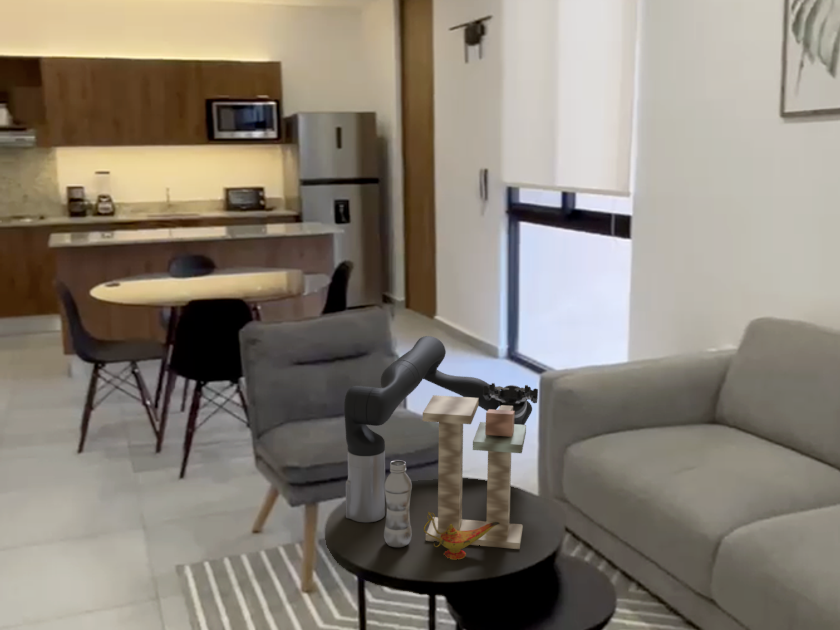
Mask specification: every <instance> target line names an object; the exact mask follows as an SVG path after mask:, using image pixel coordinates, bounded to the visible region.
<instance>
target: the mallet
mask: <svg viewBox="0 0 840 630" xmlns="http://www.w3.org/2000/svg"><path fill="white" fill-rule="evenodd" d="M514 415H515V411H513V406H505V405H501V406H499V407H498V408H497V409H496V410H492V409H489V410H488V411H486V412H485V422H486V428H485V435H496V436H511V437H512V435H513V433H514Z"/></svg>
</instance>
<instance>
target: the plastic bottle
mask: <svg viewBox="0 0 840 630" xmlns="http://www.w3.org/2000/svg"><path fill="white" fill-rule="evenodd" d="M406 471H407V463H406V461H404V460H400V459H394V460H392V461H390V463H389V472H390V473H389V474H388V476H387V477H386V478H385V484H384V489H385V507H386V514H385V525H384V530H383V537H384V542H386V544H387V545H388V546H389V547H391V548H403V547H405V546H407V545H409V543H410V542H411V541H412V536H413V533H412V532H413V531H412V526H411V519H410V518H411V517H410V505H411V504H410V503H411V494H412V488H413V484H412V480H411V478H410V477H409V475H408V474H407V473H406Z"/></svg>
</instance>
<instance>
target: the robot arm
mask: <svg viewBox="0 0 840 630" xmlns="http://www.w3.org/2000/svg"><path fill="white" fill-rule="evenodd" d="M446 353H447V351H446V347H445V345H444V343H443V342H442V341H441V340H440V339H438V338H437V337H435V336H431V335H425V336H421V337H420V338H418V340H417V341H416V342H415V343H414V345H413V347H412V348H411V349H410V350H408V351H407V352H405V353H404V354H403V355H401V356H400V357H398V359H396V360H395V361H393V362H392V363H390V365H388V366H387V367H386V368H385V369H384V370H383V372H382V374H381V376H380V386H381V387H373V386H364V385H363V386H362V385H353V386H351V387H349V388H348V389H347V392H346V393H345V396H344V397H345V398H344V403H343V404H344V405H343V406H344V408H343V410H344V411H343V412H344V425H345V441H346V444H347V480H346V481H345V518H346V519H350V520H352V521H355V522H358V523H373V522H374V523H375V522H377V521H380V520H382V519H383V518H384V517H386V495H385V489H384V484H385V481H386V440H385V438H384V437H383V436H381V434H379V433H377V432H375V431H373V430H372V429H371V428H369V426H375V427H376V426H377V427H378V426H379V427H380V426H383V425H384V424H385V423H386V422H388V421H389V420H390V418H391V417H392V415H393V414H394V413H395V411H396V410H397V408H398V406H400V404H402V402H403V401H404V400H405V399H406V398H407V397H408V396H409V395H411V393H413V392H414V391H415V389H416V388H417V387H418V386H419V385H420V384H421V383H422V381H423V380H425V381H427V382H429V383H431V384H434V385H435V386H438V387H441V388H443V389H445V390H447V391H449V392H451V393H455V394H457V395H459V396H460V397H471V398H479V399H478V407H480V408H481V409H483V410H484V411H486V412H487V411H488V410H489V409H492V410H498V409H499V408H500V406H501V405H505V406H513V411H515V415H514V424H519V425H526V423H527V421H528V419H529V417H530V415H531V414H532V412H533V405H532V404H531V403H530V402H532V403H533V404H537V403H538V396H539V389H538V388H533V389H532V388H531V387H530V386H529V385H528V384H525V385H524V387H520V386H517V385H514V384H510V385H509V384H508V385H506V386H504V387H503V386H500V385H498V386H496V384H495V382H492V383H491V384H489V383H488V382H486V381H485V380H482V379H480V378H477V377H473V376H460V375H451V374H447V373H444V372H442V371H440V370H438V368H439V366H440V364H442V363H443V361H444V359H445V358H446V357H445V356H446ZM529 400H530V401H529Z"/></svg>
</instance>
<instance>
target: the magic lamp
mask: <svg viewBox="0 0 840 630" xmlns="http://www.w3.org/2000/svg"><path fill="white" fill-rule="evenodd" d="M427 513H428V514H427V520H428V521H427V522H426V523H425V525H424V526H423V532H424V533H425V535H426V534H428V535H430V536H432V537H434V538H436V539H438V540H439V541H440V542H438V543H439V544H438V545H435V542H434V543H433V546H434V547H435V548H438V547H439V546H441V545H442V546H443V547H444V548H446V550H447V551H446V550H445V551H444V552H445V553H444V552H443V556H444V555H445V556H446V557H447V558H446V557H445V556H444V557H445V558H446V559H448V558H450V559H449V560H454V561H456V560H457V559H458V560H461V559H464V558H465V557H466V556H467V553H466V551H464V550H463V549H465V548H466V547H468V546H471V545H470V544H471V543H473V542H475V541H476V540H478V539H479V538H481V537H482V536H483V535H484V534H486V533H487V532H488V531H489V530H490V529H491V528H493V527H494V526H496V525H498V524H500V522H492V523H489V524H487V525H485V526H482V527H480V528H478V529H475V530H469V531H460V530H456V529H455V528H454V527H453V525H452V524H450V526H449V527H450V528H449V527H448V528H449V529H448V528H447V529H448V530H446V531H445V532H443V533H439V531H437V529H436V526H435V522H433V521H434V518H435V517H436V515H435V513H434V512H430V511H427ZM429 517H430V518H429ZM433 517H434V518H433ZM431 520H432V523H433V526H434V529H435V531H436V532H437V533H438V534H441V536H440V539H439V538H437V537H435V536H433V535H431V534H429V533H427V530H426V528H427V525H429V524H430V523H431Z"/></svg>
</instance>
